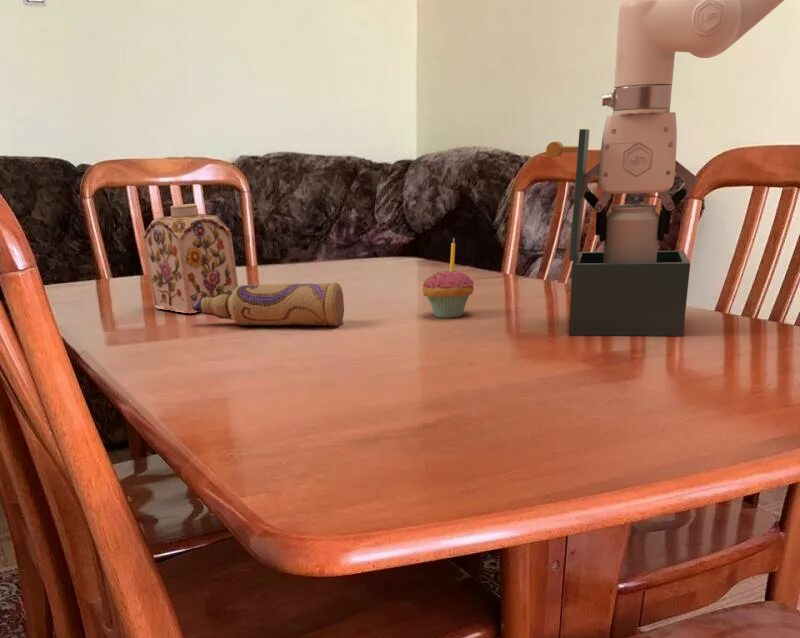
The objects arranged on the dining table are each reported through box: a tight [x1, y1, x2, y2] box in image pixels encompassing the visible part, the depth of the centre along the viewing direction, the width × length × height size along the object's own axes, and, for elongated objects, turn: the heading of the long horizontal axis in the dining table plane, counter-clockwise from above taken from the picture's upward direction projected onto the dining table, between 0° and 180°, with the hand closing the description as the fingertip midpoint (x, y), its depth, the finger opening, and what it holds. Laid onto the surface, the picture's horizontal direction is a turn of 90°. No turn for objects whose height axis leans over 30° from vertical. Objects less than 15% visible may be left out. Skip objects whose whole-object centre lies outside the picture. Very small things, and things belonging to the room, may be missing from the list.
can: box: [603, 203, 660, 263], centre depth 119 cm, size 8×8×12 cm
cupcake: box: [422, 237, 475, 319], centre depth 135 cm, size 9×8×12 cm
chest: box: [568, 250, 691, 337], centre depth 122 cm, size 16×14×10 cm
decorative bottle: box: [192, 282, 345, 327], centre depth 135 cm, size 26×8×7 cm, turn 76°
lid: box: [545, 128, 591, 262], centre depth 118 cm, size 17×14×5 cm
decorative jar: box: [142, 203, 239, 311], centre depth 151 cm, size 12×12×18 cm
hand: (631, 239), depth 119 cm, fingers closed on can, 7 cm apart
